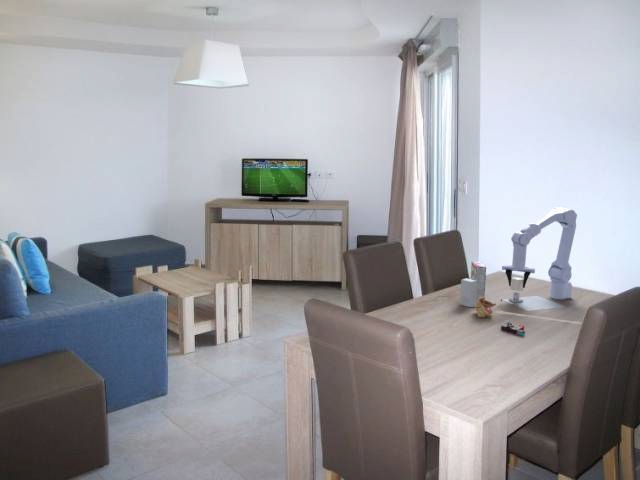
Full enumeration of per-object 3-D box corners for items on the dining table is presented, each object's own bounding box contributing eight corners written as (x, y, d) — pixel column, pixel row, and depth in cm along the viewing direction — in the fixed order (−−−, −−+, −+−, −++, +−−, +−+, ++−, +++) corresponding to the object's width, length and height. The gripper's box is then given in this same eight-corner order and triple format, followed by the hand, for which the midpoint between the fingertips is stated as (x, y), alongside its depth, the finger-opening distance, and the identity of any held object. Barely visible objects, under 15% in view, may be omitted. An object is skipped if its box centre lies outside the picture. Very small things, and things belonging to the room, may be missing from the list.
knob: (517, 287, 290) (518, 276, 289) (525, 290, 284) (526, 279, 283) (507, 288, 288) (508, 277, 287) (515, 291, 283) (516, 280, 282)
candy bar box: (468, 293, 302) (471, 261, 299) (479, 294, 302) (481, 261, 299) (474, 300, 291) (476, 266, 288) (484, 300, 291) (487, 266, 288)
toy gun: (522, 338, 241) (523, 326, 240) (497, 330, 250) (498, 318, 249) (537, 334, 246) (538, 322, 245) (512, 325, 256) (513, 314, 255)
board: (537, 297, 297) (537, 295, 297) (565, 309, 279) (565, 306, 279) (500, 301, 290) (500, 299, 290) (526, 313, 272) (526, 310, 272)
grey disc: (517, 298, 291) (517, 290, 291) (525, 302, 285) (526, 294, 285) (505, 299, 289) (506, 291, 288) (514, 303, 283) (515, 295, 282)
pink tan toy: (489, 322, 260) (473, 305, 261) (477, 326, 269) (462, 310, 270) (501, 308, 264) (486, 291, 264) (490, 312, 273) (475, 296, 274)
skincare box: (476, 306, 281) (478, 280, 279) (470, 307, 279) (472, 282, 276) (465, 303, 286) (467, 277, 284) (459, 304, 283) (460, 279, 281)
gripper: (501, 257, 283) (499, 286, 285) (534, 261, 277) (532, 290, 279) (504, 255, 289) (502, 282, 292) (536, 258, 283) (534, 286, 286)
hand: (516, 286), depth 286 cm, fingers closed on knob, 6 cm apart
